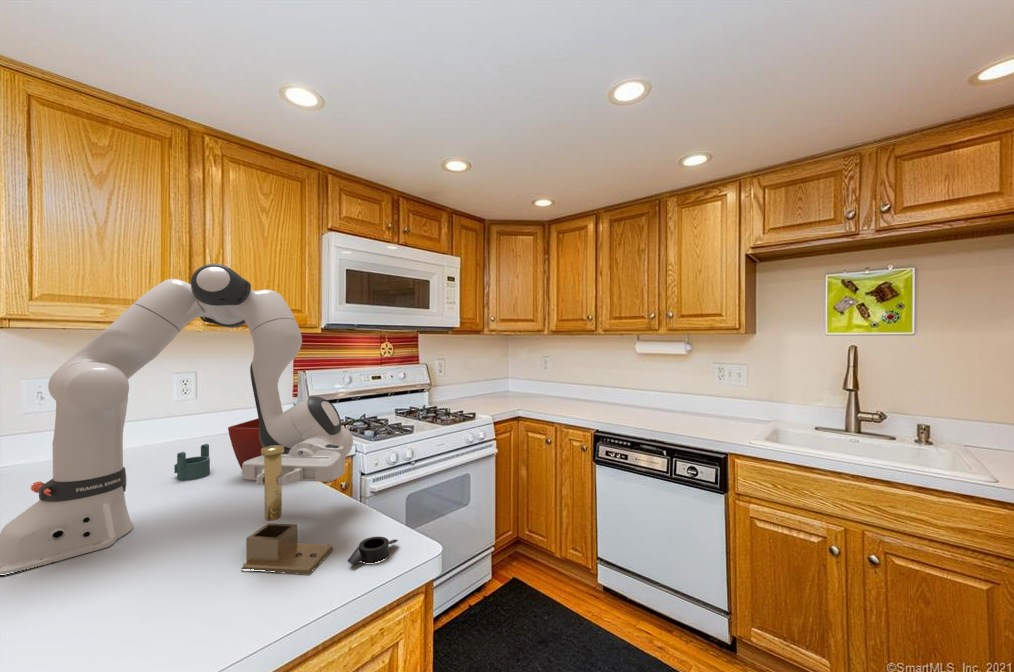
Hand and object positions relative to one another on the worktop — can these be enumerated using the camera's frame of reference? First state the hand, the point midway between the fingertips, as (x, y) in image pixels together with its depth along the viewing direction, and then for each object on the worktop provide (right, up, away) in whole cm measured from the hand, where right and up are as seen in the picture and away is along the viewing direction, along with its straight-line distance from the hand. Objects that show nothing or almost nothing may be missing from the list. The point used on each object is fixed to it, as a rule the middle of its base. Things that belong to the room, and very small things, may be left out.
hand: (270, 480), depth 83 cm
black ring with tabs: (+20, -16, +2) cm, 26 cm away
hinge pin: (0, -8, +1) cm, 8 cm away
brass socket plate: (+3, -16, +1) cm, 16 cm away
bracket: (-53, -16, +50) cm, 74 cm away
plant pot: (-28, -16, +53) cm, 62 cm away
